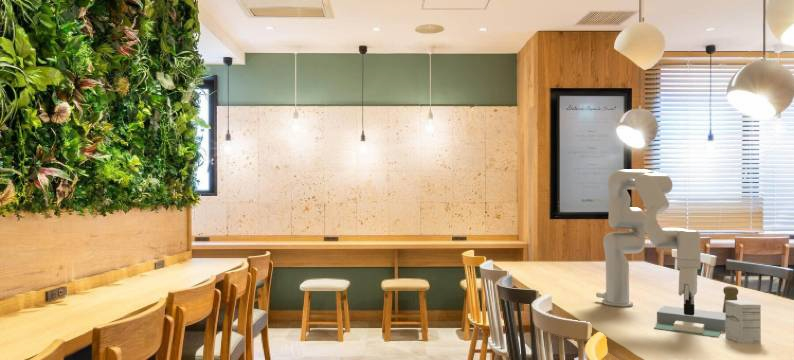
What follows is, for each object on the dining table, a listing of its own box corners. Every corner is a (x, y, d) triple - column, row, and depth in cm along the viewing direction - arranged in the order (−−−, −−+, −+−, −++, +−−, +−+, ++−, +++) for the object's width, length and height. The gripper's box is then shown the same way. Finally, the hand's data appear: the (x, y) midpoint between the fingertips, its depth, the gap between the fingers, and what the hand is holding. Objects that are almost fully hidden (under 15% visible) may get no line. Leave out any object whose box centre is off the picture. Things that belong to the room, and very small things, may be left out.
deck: (656, 322, 204) (656, 311, 204) (664, 315, 216) (664, 305, 216) (724, 331, 191) (724, 320, 191) (728, 324, 203) (728, 313, 203)
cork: (742, 315, 217) (742, 288, 217) (725, 315, 218) (725, 287, 218) (736, 312, 222) (735, 285, 223) (720, 312, 224) (719, 285, 224)
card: (676, 320, 198) (676, 326, 197) (673, 323, 193) (673, 329, 193) (704, 324, 192) (704, 329, 192) (702, 327, 187) (702, 333, 187)
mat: (653, 328, 195) (653, 327, 195) (659, 323, 203) (659, 322, 203) (718, 337, 183) (718, 336, 183) (721, 331, 191) (721, 330, 191)
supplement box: (724, 337, 183) (724, 300, 183) (745, 337, 184) (744, 299, 184) (740, 343, 176) (739, 304, 176) (761, 343, 176) (761, 304, 177)
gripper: (680, 261, 205) (681, 309, 205) (673, 265, 193) (673, 317, 193) (703, 262, 201) (703, 312, 201) (697, 266, 189) (697, 320, 189)
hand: (689, 314), depth 197 cm, fingers closed
